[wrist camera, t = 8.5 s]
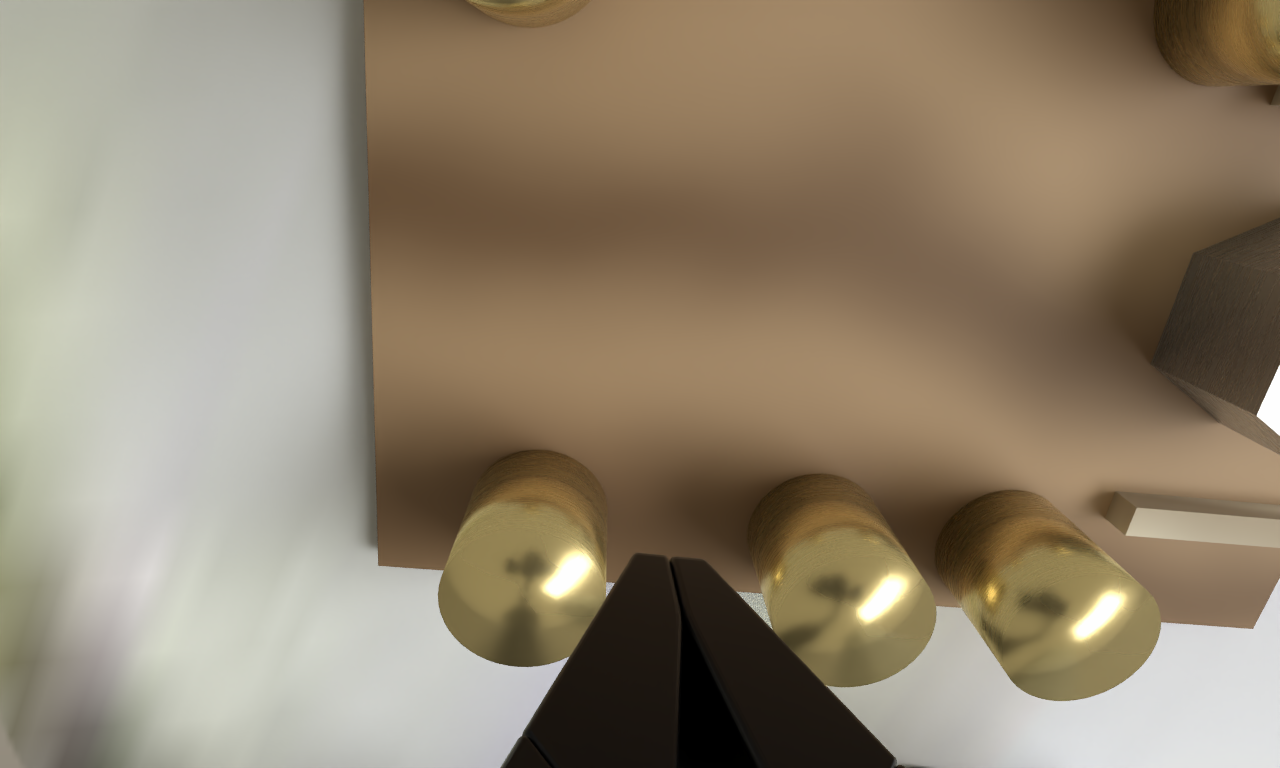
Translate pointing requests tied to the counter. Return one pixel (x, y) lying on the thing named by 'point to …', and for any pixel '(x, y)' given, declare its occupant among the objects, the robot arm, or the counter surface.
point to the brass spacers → (844, 513)
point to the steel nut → (1230, 334)
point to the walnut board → (812, 273)
